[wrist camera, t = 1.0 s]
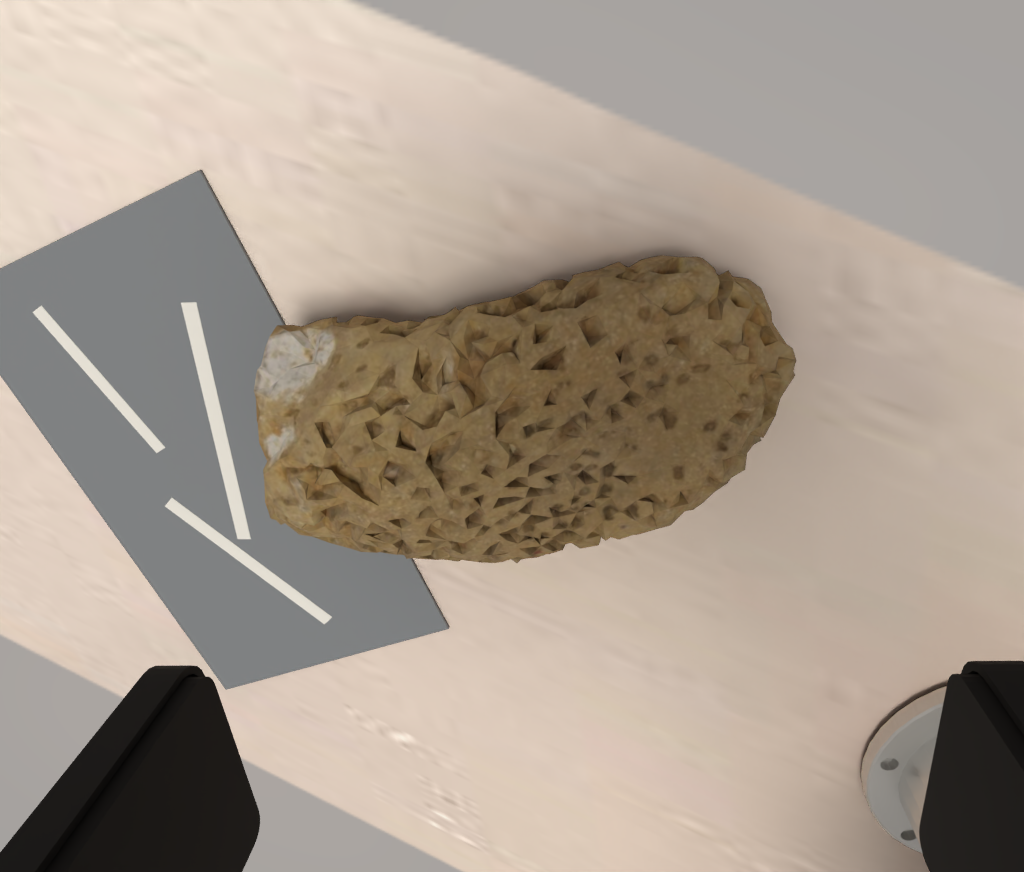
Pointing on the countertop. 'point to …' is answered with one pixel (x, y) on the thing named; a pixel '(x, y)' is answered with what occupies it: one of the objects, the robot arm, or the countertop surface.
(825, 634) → the countertop surface
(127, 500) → the mat
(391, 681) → the countertop surface
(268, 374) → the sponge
